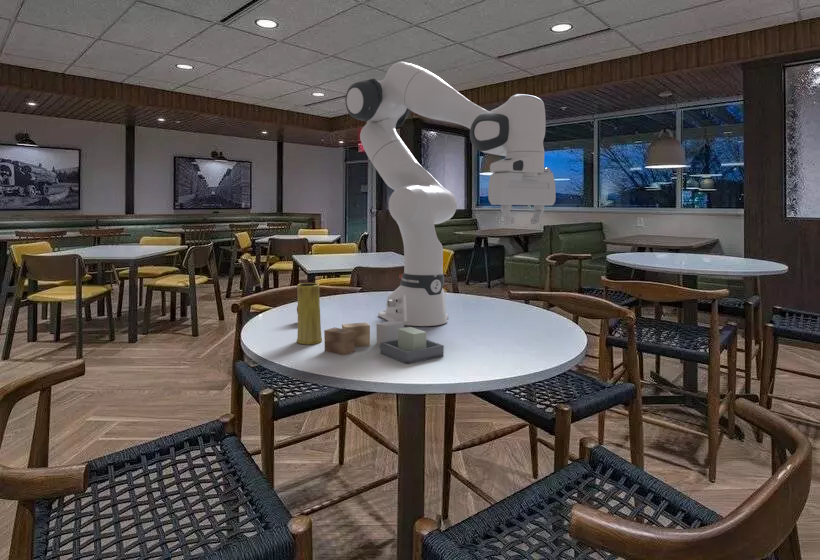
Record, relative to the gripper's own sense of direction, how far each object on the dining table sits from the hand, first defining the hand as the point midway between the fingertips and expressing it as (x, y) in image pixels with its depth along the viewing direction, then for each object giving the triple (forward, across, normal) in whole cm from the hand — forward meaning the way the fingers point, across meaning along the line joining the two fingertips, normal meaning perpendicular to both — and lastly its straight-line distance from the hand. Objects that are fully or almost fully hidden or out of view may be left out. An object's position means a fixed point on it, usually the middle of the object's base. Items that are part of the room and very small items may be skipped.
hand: (522, 224), depth 125 cm
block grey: (+29, +26, -18) cm, 43 cm away
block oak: (+29, +34, -21) cm, 50 cm away
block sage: (+28, +28, -7) cm, 40 cm away
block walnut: (+29, +40, -18) cm, 53 cm away
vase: (+29, +42, -30) cm, 59 cm away
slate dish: (+29, +28, -7) cm, 41 cm away
